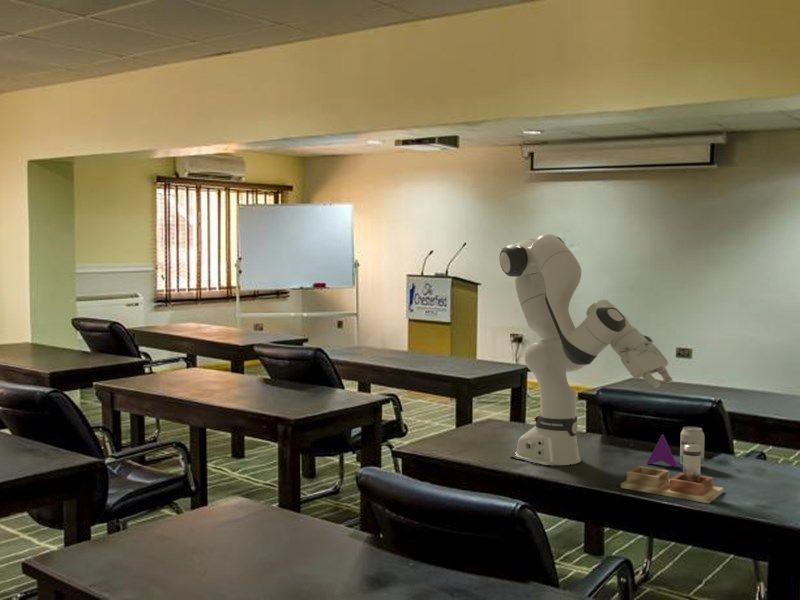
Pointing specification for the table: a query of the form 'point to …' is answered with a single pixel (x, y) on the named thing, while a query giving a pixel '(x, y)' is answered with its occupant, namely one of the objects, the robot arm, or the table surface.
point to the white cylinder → (691, 462)
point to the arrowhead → (662, 453)
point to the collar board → (671, 485)
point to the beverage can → (692, 440)
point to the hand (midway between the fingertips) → (664, 384)
